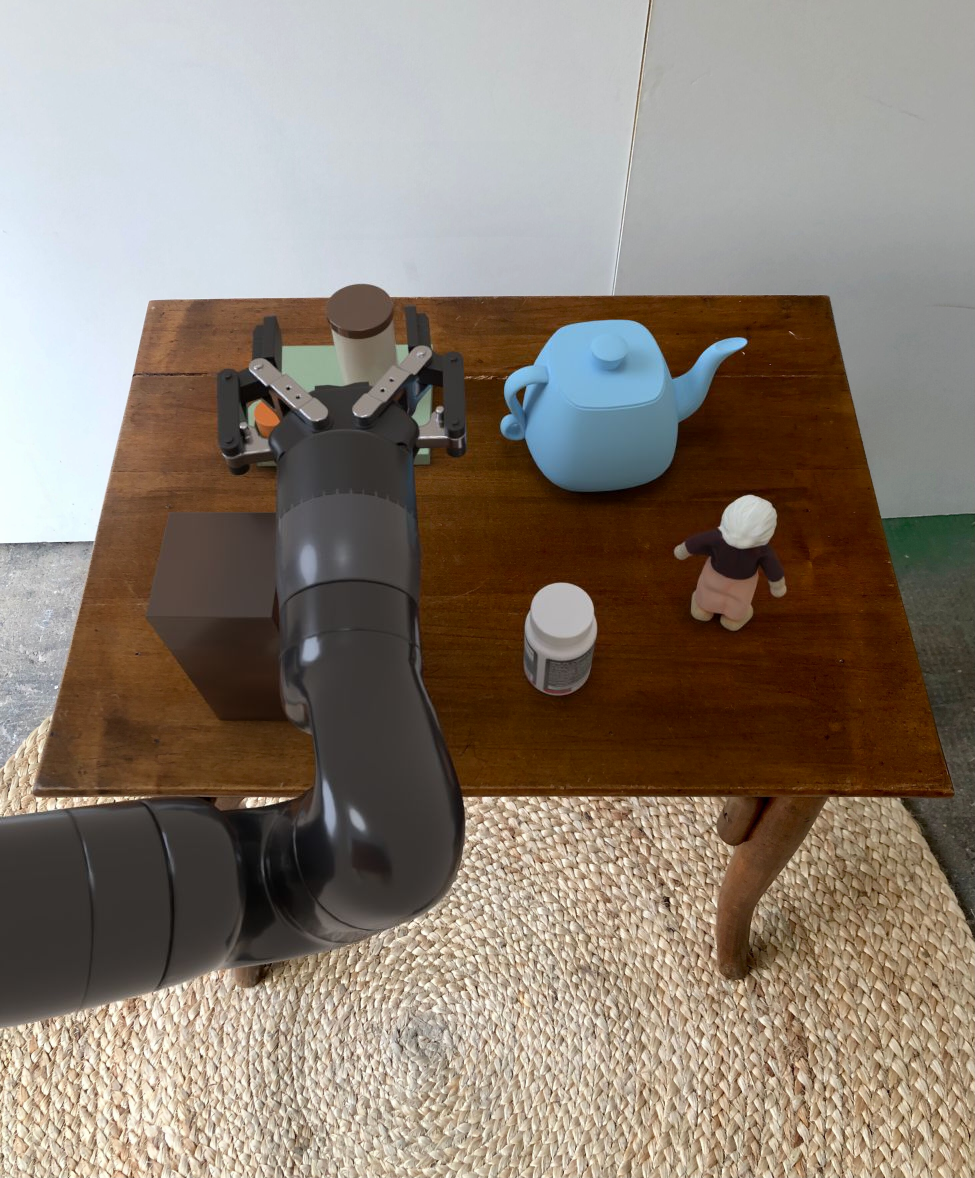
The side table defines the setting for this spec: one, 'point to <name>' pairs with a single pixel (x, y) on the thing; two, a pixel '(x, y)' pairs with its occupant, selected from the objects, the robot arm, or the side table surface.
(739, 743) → the side table surface
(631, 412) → the teapot
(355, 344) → the spice jar
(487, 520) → the side table surface
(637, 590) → the side table surface
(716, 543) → the grandmother figurine
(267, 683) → the stand
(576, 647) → the pill bottle
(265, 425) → the tare button
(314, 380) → the scale
